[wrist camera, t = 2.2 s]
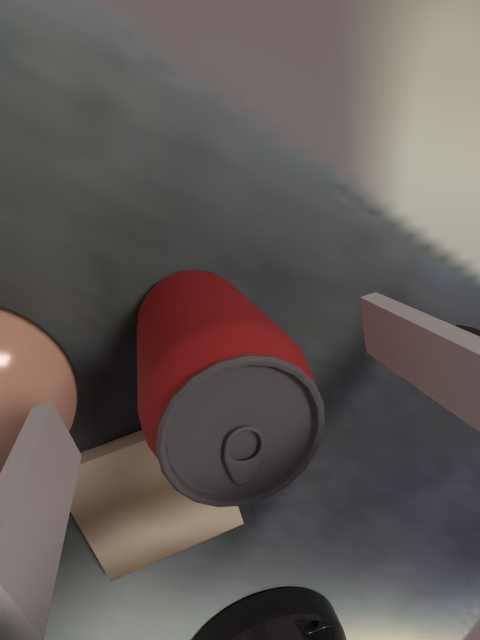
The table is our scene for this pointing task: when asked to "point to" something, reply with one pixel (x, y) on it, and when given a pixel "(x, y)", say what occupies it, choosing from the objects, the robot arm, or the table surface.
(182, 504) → the square tan board
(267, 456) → the beer can
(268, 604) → the robot arm
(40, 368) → the coaster
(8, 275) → the table surface
